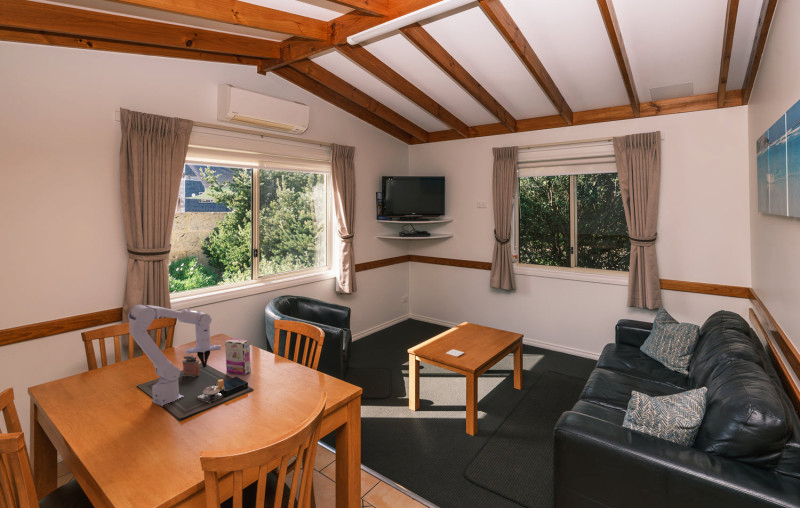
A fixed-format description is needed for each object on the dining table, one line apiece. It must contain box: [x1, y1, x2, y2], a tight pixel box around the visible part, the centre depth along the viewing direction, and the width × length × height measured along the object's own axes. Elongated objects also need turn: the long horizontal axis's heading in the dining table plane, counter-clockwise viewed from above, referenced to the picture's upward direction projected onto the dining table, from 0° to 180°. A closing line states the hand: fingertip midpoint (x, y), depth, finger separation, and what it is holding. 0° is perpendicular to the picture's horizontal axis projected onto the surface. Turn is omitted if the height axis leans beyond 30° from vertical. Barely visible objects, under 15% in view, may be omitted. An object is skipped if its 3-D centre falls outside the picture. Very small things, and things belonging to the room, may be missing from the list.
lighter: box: [181, 355, 200, 377], centre depth 198 cm, size 8×3×10 cm, turn 84°
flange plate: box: [202, 378, 225, 395], centre depth 176 cm, size 8×7×4 cm
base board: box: [196, 385, 225, 402], centre depth 176 cm, size 9×9×4 cm
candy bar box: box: [224, 338, 252, 376], centre depth 202 cm, size 11×5×16 cm, turn 73°
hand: (204, 366), depth 186 cm, fingers closed
